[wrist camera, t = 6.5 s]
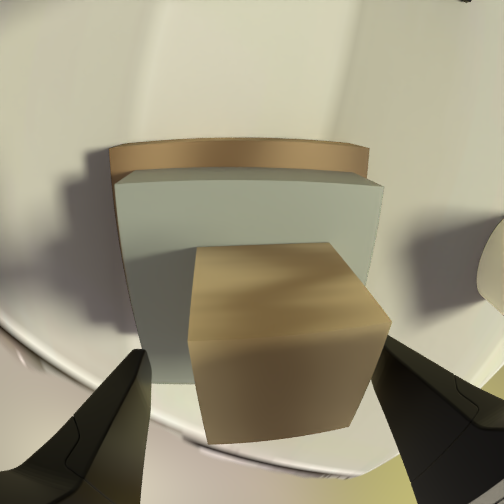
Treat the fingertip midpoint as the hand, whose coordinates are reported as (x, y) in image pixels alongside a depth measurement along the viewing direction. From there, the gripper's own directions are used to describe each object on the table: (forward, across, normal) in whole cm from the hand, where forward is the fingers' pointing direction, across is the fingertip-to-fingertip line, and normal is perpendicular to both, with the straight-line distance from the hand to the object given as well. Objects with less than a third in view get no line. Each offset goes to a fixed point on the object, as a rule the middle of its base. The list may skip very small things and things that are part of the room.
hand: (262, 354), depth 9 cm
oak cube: (+3, 0, 0) cm, 3 cm away
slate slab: (+6, 0, 0) cm, 6 cm away
